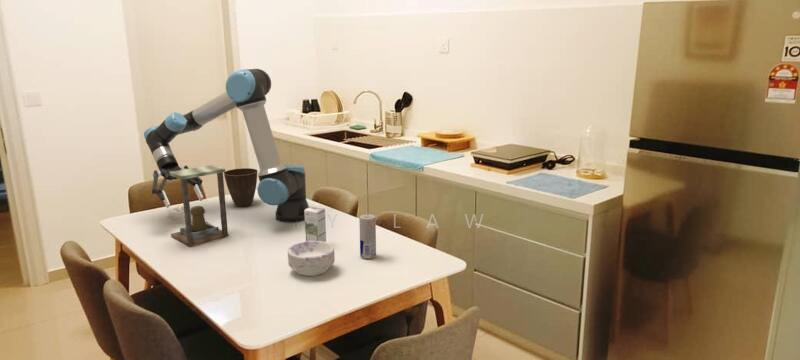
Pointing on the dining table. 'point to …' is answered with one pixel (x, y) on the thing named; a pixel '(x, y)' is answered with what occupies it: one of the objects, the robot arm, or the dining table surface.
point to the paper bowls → (311, 257)
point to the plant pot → (241, 185)
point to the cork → (198, 219)
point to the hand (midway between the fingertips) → (185, 202)
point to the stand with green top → (186, 232)
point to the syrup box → (315, 224)
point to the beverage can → (367, 236)
